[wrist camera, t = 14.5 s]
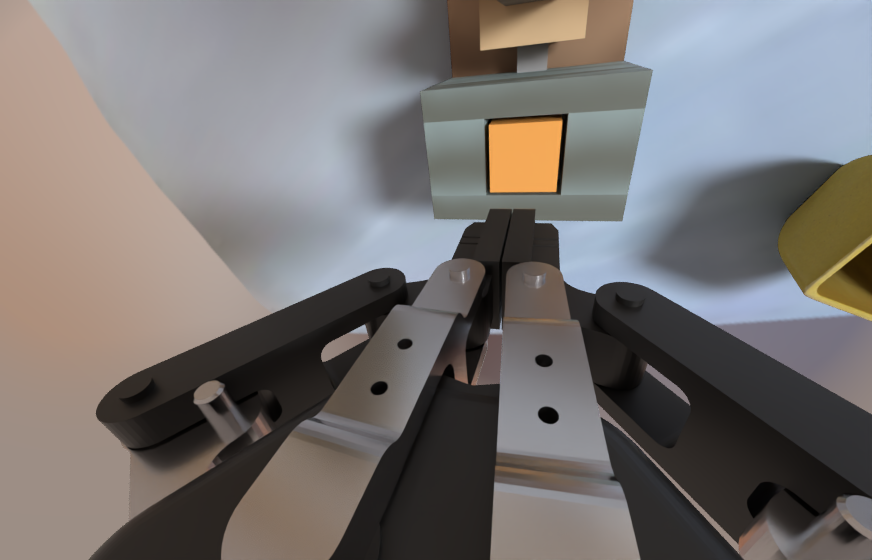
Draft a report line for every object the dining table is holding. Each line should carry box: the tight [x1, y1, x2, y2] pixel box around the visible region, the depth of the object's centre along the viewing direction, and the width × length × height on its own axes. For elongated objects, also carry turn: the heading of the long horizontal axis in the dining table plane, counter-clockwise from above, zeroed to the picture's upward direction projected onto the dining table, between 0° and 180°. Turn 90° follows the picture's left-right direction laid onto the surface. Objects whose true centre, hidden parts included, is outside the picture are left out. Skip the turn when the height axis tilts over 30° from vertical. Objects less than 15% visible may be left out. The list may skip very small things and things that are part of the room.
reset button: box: [489, 114, 562, 192], centre depth 22 cm, size 4×4×3 cm
